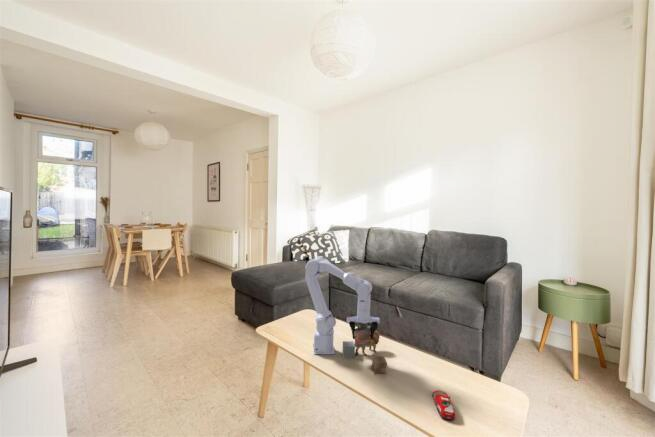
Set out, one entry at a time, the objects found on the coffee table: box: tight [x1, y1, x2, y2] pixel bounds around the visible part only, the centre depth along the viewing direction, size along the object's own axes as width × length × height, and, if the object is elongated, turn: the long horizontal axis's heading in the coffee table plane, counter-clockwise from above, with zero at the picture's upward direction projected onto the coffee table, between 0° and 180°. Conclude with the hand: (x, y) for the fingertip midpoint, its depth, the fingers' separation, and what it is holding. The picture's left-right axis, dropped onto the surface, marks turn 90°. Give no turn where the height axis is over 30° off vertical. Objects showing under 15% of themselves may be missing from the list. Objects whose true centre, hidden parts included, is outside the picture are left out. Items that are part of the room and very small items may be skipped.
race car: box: [432, 389, 456, 421], centre depth 100 cm, size 13×5×4 cm, turn 172°
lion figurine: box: [355, 330, 380, 357], centre depth 135 cm, size 15×5×9 cm, turn 129°
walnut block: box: [371, 355, 388, 375], centre depth 121 cm, size 5×5×5 cm
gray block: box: [342, 340, 356, 358], centre depth 133 cm, size 5×5×5 cm
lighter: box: [354, 323, 371, 349], centre depth 128 cm, size 8×3×10 cm, turn 118°
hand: (362, 338), depth 128 cm, fingers closed on lighter, 7 cm apart
